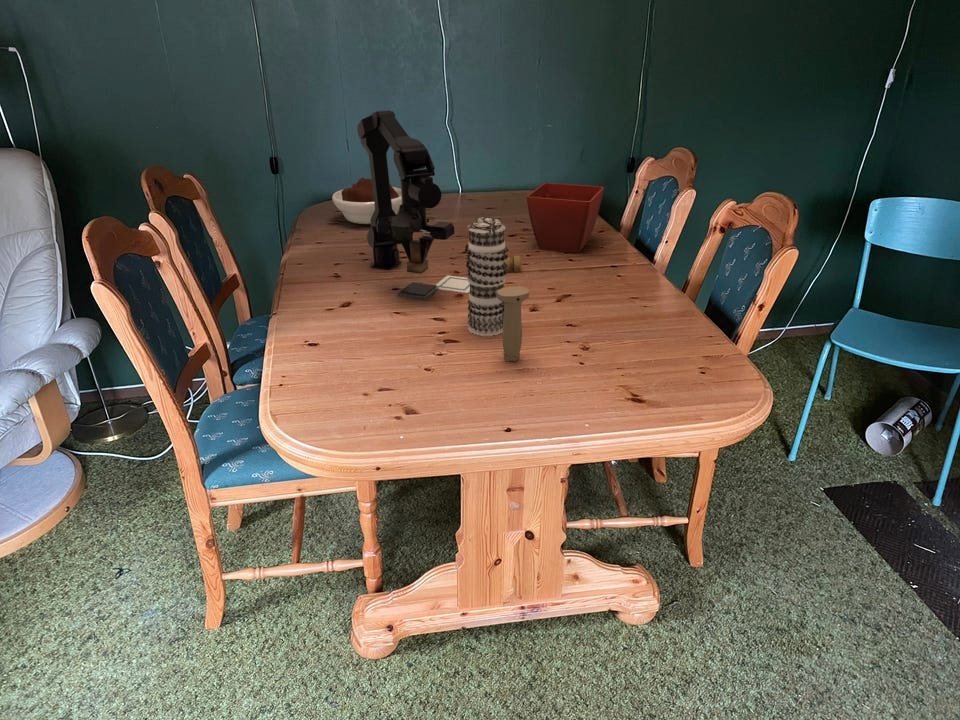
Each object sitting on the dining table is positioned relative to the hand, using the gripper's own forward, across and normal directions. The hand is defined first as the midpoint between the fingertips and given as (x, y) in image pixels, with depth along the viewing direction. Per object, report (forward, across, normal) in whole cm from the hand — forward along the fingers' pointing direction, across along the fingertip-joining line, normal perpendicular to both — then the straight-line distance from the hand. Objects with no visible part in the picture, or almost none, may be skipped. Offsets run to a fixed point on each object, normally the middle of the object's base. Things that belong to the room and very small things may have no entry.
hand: (417, 261), depth 161 cm
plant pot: (+9, +25, +51) cm, 57 cm away
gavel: (+9, +11, +31) cm, 34 cm away
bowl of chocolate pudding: (+9, -45, +55) cm, 72 cm away
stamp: (+2, 0, 0) cm, 2 cm away
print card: (+9, +7, +9) cm, 14 cm away
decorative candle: (+9, +24, -14) cm, 29 cm away
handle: (+9, +34, -26) cm, 44 cm away
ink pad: (+9, 0, 0) cm, 9 cm away
